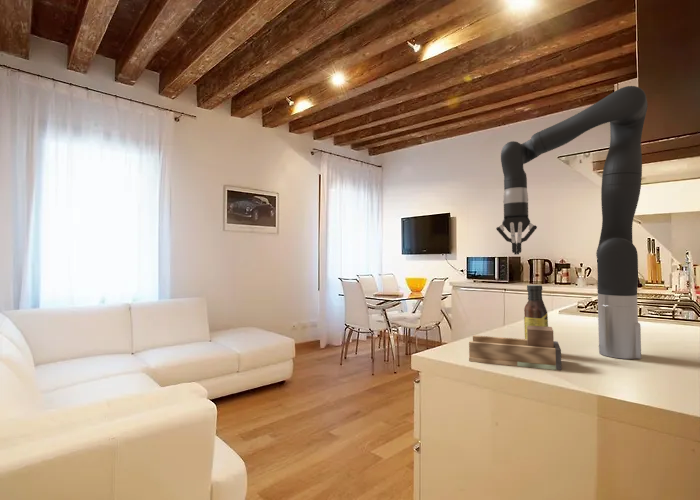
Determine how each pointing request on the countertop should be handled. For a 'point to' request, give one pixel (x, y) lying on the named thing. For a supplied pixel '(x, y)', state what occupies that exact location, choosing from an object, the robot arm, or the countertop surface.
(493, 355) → the wooden tray
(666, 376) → the countertop surface
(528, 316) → the sauce bottle
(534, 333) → the block
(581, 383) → the countertop surface
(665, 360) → the countertop surface
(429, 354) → the countertop surface
